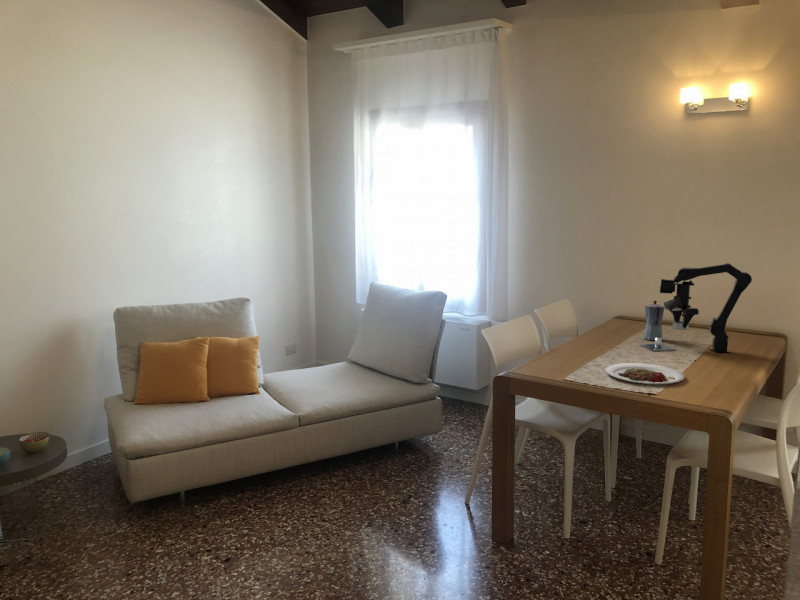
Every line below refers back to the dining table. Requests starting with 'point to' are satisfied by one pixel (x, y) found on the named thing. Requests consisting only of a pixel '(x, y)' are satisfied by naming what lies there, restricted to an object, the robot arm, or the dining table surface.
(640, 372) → the plated food
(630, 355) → the dining table surface
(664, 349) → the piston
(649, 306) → the moka pot
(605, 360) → the dining table surface
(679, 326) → the ring
